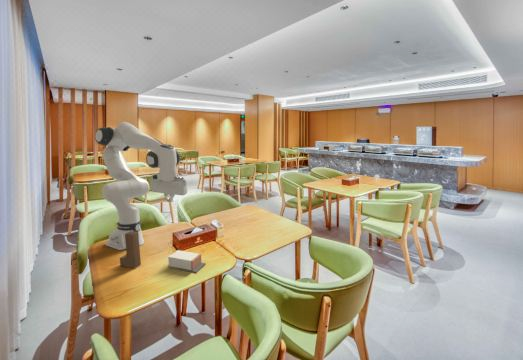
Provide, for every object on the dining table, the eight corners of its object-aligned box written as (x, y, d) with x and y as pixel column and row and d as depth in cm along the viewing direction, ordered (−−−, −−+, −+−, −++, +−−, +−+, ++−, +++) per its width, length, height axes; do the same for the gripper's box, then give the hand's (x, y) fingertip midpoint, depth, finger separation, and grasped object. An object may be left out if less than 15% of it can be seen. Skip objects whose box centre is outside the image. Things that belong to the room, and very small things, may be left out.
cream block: (168, 256, 138) (192, 261, 134) (177, 250, 146) (201, 254, 141) (168, 265, 139) (193, 270, 135) (178, 258, 146) (201, 263, 142)
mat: (170, 267, 138) (170, 266, 138) (180, 259, 147) (180, 258, 147) (196, 273, 134) (196, 271, 134) (205, 264, 142) (205, 263, 142)
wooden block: (120, 266, 139) (116, 232, 136) (126, 262, 144) (123, 229, 140) (135, 268, 137) (132, 234, 133) (141, 264, 141) (138, 231, 138)
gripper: (189, 176, 143) (190, 202, 146) (156, 173, 149) (157, 198, 152) (182, 178, 137) (183, 205, 140) (148, 175, 143) (150, 201, 146)
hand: (169, 201), depth 146 cm, fingers closed
